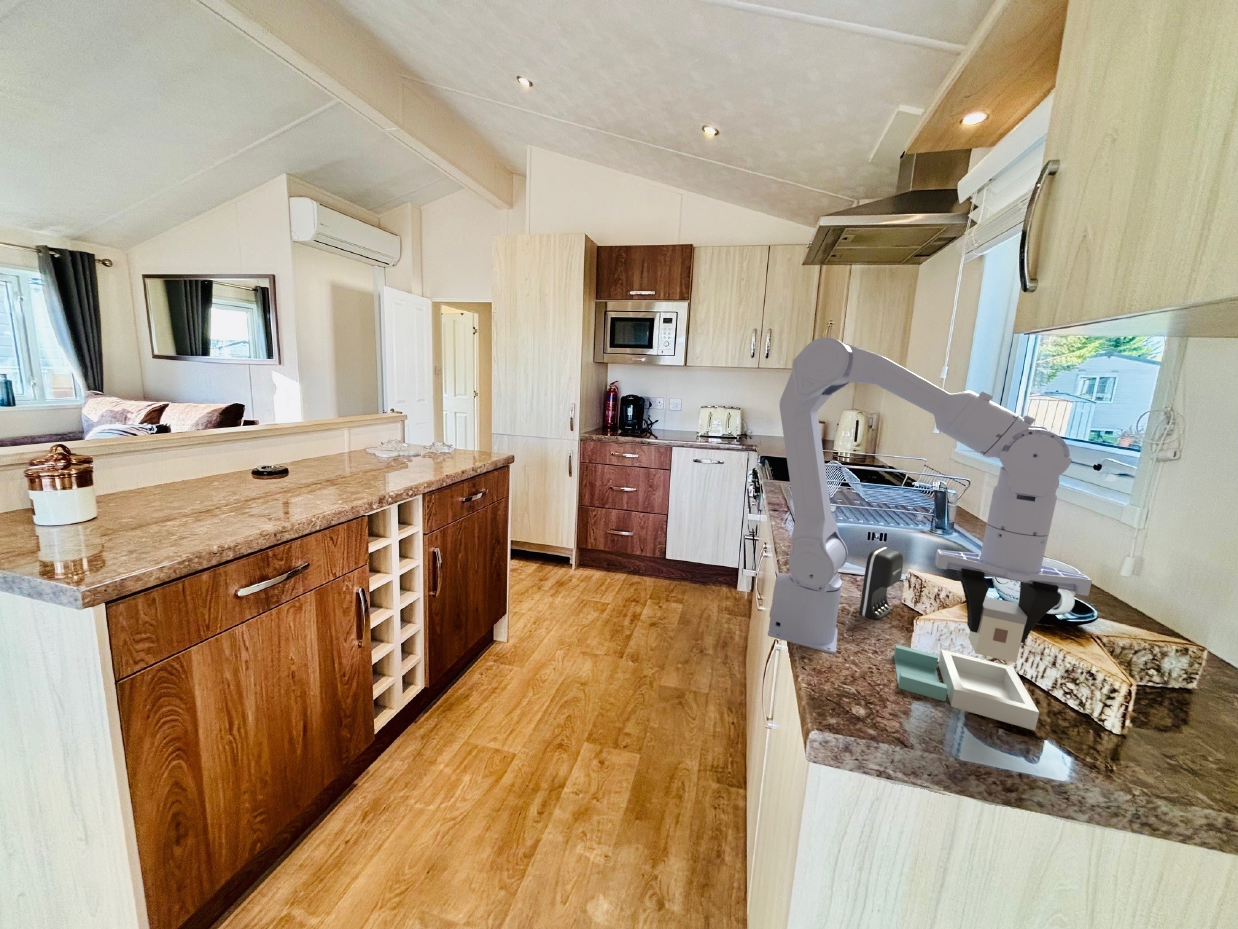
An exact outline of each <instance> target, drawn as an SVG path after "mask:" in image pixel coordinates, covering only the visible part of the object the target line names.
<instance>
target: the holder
mask: <svg viewBox="0 0 1238 929" xmlns="http://www.w3.org/2000/svg"><path fill="white" fill-rule="evenodd" d="M893 661H894V665H895V666H894V667H895V673H896V680H897V686H898V687H897V688H898V689H901V690H904V691H906V692H910V693H914V694H917V695H921V696H925V697H927V698H931V699H935V700H939V701H942V702H946V701H947V697H948V694H947V690H948V688H947V685H946V684H944V682H943V683H942V682H940V679H939V675H938V671H937V667H938V663H939V657H938V654H937V653H936V654H935V653H931V652H927V651H923V650H919V649H916V648H913V647H912V648H911V647H907V646H903V645H899V644H895V647H894V652H893Z"/></svg>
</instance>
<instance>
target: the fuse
mask: <svg viewBox="0 0 1238 929" xmlns="http://www.w3.org/2000/svg"><path fill="white" fill-rule="evenodd" d="M1026 621H1027V616H1026V615H1025V613H1024V612H1023V611H1022V609H1021V608H1020V607H1019V603H1017V602H1012V601H1007V600H1002V599H998V598H994V597H988V596H986V597H985V600H984V603H983V606H982V610H981V617H980V624H979V628H978V631H977V633H976V632H971V631H970V630H969V633H968V641H969V643H970V644H971V646H972V648H973V651H974V653H975V654H978V655H980V656H981V655H982V656H986V657H990V658H994V659H998V660H1002V661H1006V662H1010V663H1014V664H1017V661H1018V657H1019V653H1020V652H1019V651H1020V647H1021V644H1022V643H1021V640H1022V635H1023V631H1024V626H1025V625H1026Z"/></svg>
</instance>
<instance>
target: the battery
mask: <svg viewBox="0 0 1238 929" xmlns="http://www.w3.org/2000/svg"><path fill="white" fill-rule="evenodd" d="M903 568H904V557H903V554H902V553H901V552H899V551H898V550H895V549H890V548H888V547H886V546H880V547H878V548H876V549H873V550H872V551H870V553H869V554H868V556H867V560H866V565H865V569H864V570H865V571H864V576H863V582H862V583H863V585H862V590H861V599H860V604H859V605H860V606H859V611H858V614H859V615H860V616H862V617H865V618H867V619H870V620H875V621H879V620H881V619H883V618H885V617H886V616H888V615H889V614H890V613H891V612H892V609H891V607H890V604H889V601H888V596H887V593H888V588H890V587H892V586H893V585H895V584H896V583H898V582H900V581H901V579H902V576H903Z"/></svg>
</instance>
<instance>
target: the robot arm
mask: <svg viewBox="0 0 1238 929" xmlns="http://www.w3.org/2000/svg"><path fill="white" fill-rule="evenodd" d="M791 367H792V368H791V372H790V375H789V378H788V380H787V383H786V384H785V387H784V389H783V391H782V394H781V397H780V400H779V413H780V420H781V426H782V428H781V429H782V433H783V440H784V447H785V455H786V461H787V462H786V463H787V469H788V476H789V477H788V478H789V483H790V491H791V496H792V498H791V499H792V504H793V505H792V506H793V511H794V512H793V513H794V518H795V519H794V520H795V522H794V526H793V528H792V533H791V537H790V538H791V551H790V555H789V556H788V562H787V563H788V569H789V570H788V571H789V572H790V573H782V572H778V573H777V574H776V578H775V581H774V586H773V587H774V588H773V593H772V599H771V605H770V606H771V607H770V610H769V626H768V631H767V636H768V637H770V638H774V639H778V640H781V641H785V642H789V643H793V644H797V645H799V646H802V647H807V648H811V649H815V650H819V651H821V652H825V653H828V654H833V655H834V654H836V653H837V647H838V631H839V630H838V627H837V621H838V615H839V608H840V601H841V594H842V589H843V588H842V587H843V581H842V579H841V577H840V573H839V570H840V569H841V568H842V567H844V565H845V564H846V563H847V560H848V557H849V551H848V547H847V544H846V543H845V541H844V540H843V539H842V536H840V533H839V529H838V523H837V522H836V520H835V518H834V517H833V514H832V508H831V501H830V499H831V498H830V493H829V486H828V479H827V471H826V464H825V458H824V450H823V441H822V435H821V428H820V421H819V415H818V414H819V413H818V412H819V410H820V409H821V408H822V407H823V406H824V404H825V403H826V402H827V401H828V400H829V398H831V397H832V395H833V394H834V393H836V392H838V391H839V390H841V389H843V388H844V387H846V386H847V385H849V384H850V383H853V384H861V385H876V386H877V387H880V388H882V389H884V390H886V391H887V392H890V393H891V394H893V395H895V396H897V397H899V398H901V399H903V400H904V401H906V402H908V403H911V404H913V405H915V406H916V407H919V408H921V409H923V410H924V411H926V412H928V413H930V414H932V415H933V418H934V423H935V427H936V429H937V431H938V432H941V433H942V434H944V435H946V436H948V437H950V438H951V439H953V440H954V441H957V442H959V443H961V444H963V445H964V446H966V447H967V448H969V449H971V450H972V451H974V452H976V453H978V454H980V455H982V456H983V457H984V458H997V459H999V461H1000V463H1001V464H1002V465H1001V466H1000V471H999V474H998V480H997V484H996V485H995V486H994V487H993V491H992V496H991V500H990V501H991V502H990V505H989V510H988V511H989V512H988V517H987V520H986V524H985V525H986V526H985V532H984V536H983V540H982V546H981V551H980V553H977V552H964V551H952V550H945V549H936V552H935V553H936V554H935V559H934V564H935V567H936V569H940V570H947V569H950V570H956V571H957V574H958V578H959V579H960V582H961V587H962V590H963V593H964V594H963V595H964V599H965V604H966V613H967V614H966V615H967V616H966V617H967V621H966V623H967V624H966V625H967V627H968V629H969V632H970V631H971V632H976V633H977V631H978V628H979V624H980V617H981V610H982V606H983V603H984V600H985V597H987V593H988V591H989V589H990V587H989V586H988V584H987V583H986V582H987V578H986V577H987V576H988V577H993V578H999V579H1003V580H1004V579H1005V580H1009V581H1015V582H1020V587H1019V597H1018V605H1019V607H1020V608H1021V609H1022V611H1023V612H1024V613H1025V615H1026V616H1027V621H1026V625H1025V626H1024V631H1023V635H1022V640H1021V644H1025V642H1026V640H1027V638H1028V636H1029V634H1030V633H1031V632H1032V630H1033V628H1034V627H1035V626H1036V625H1037V624H1038V622H1039V621H1040V620H1041V619H1042V618H1043V617H1044V616H1045V615H1046V614H1047V613H1048V612H1049V611H1050V610H1052V609H1053V608H1055V607H1056V606H1058V605H1059V603H1060V602H1061V599H1062V595H1061V594H1060V592H1059V590H1063V591H1068V592H1074V593H1075V594H1077V595H1081V596H1086V597H1087V596H1089V594H1090V590H1091V586H1092V582H1093V580H1092V579H1091V578H1090V577H1088V576H1087V575H1086V574H1084V573H1078V572H1075V571H1074V572H1073V571H1068V570H1064V569H1060V568H1056V567H1052V566H1048V565H1043V563H1044V557H1045V552H1046V548H1047V544H1048V539H1049V535H1050V531H1051V527H1052V526H1051V525H1052V522H1053V517H1054V514H1055V513H1054V512H1055V508H1056V504H1057V500H1058V496H1057V494H1056V493H1057V490H1058V488H1059V486H1060V476H1061V475H1063V474H1064V473H1065V472H1066V471H1067V470H1068V469H1069V467H1070V465H1071V463H1072V458H1071V457H1070V449H1069V446H1068V445H1067V443H1066V441H1065V440H1064V439H1063V438H1062V437H1061V436H1059V435H1058V434H1056V433H1054V432H1052V431H1049V430H1048V428H1047V427H1044V426H1041V425H1033V424H1034V423H1035V421H1036V419H1035V418H1034V417H1032V416H1030V415H1028V414H1025V415H1024V416H1023V417H1022V416H1020V415H1019V414H1016V413H1015V412H1013V411H1011V410H1009V409H1008V408H1005V407H1003V406H1001V405H1000V404H997V403H995V402H994V401H991V400H992V399H993V398H994V396H993V395H992V394H989V393H988V392H986V391H981V392H980V393H976V392H974V391H972V390H964V391H959V392H955V393H949V392H948V391H946V390H945V389H942V388H940V387H938V386H937V385H935V384H933V383H931V382H930V381H928V380H926V379H925V378H923V377H921V376H919V375H917V374H916V373H914V372H912V371H910V370H909V369H908V368H905V367H904V366H902V365H899V364H898V363H896V362H894V361H893V360H891V359H889V358H887V357H885V356H883V355H881V354H878V353H876V352H872V351H870V350H866V349H863V348H860V347H858V346H854V345H851V344H849V343H843V342H842V341H841V340H839V339H837V338H834V337H830V336H828V337H825V336H824V337H819V338H816V339H813V340H812V341H810V342H809V343H808V344H807V345H805V347H804V348H802V350H801V351H800V352H799V353H798V354H797V355H796V357H795V358H794V359H793V360H792V366H791Z"/></svg>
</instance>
